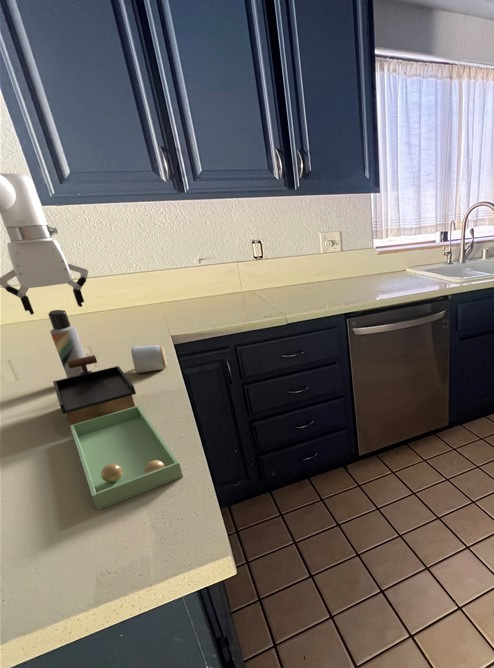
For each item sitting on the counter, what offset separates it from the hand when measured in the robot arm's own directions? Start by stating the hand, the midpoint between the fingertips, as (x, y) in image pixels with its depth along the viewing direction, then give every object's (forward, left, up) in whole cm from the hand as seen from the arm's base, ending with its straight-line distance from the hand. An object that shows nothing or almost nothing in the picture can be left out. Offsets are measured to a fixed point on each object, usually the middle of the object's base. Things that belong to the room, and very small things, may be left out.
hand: (56, 309), depth 103 cm
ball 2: (+23, -50, -20) cm, 58 cm away
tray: (+15, -38, -22) cm, 47 cm away
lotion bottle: (-4, +11, -22) cm, 25 cm away
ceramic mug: (+14, +12, -22) cm, 29 cm away
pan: (+5, -11, -18) cm, 21 cm away
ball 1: (+16, -48, -20) cm, 54 cm away
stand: (+5, -11, -22) cm, 25 cm away
